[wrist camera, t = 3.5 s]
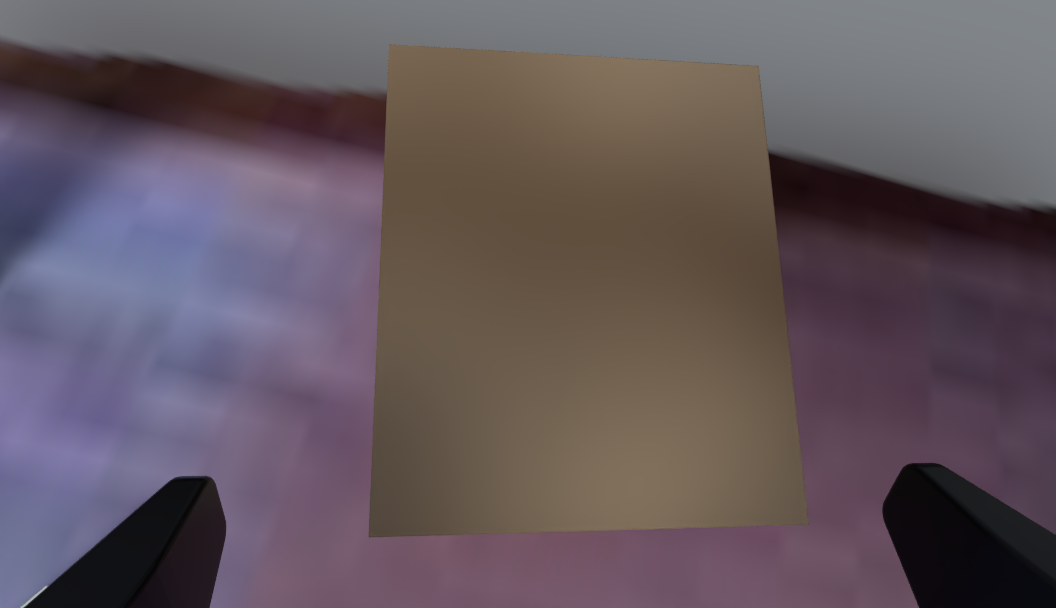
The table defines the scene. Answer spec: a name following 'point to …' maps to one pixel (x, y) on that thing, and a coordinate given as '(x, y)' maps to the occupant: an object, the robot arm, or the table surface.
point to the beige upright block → (579, 300)
